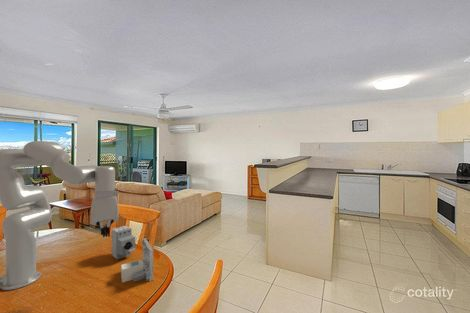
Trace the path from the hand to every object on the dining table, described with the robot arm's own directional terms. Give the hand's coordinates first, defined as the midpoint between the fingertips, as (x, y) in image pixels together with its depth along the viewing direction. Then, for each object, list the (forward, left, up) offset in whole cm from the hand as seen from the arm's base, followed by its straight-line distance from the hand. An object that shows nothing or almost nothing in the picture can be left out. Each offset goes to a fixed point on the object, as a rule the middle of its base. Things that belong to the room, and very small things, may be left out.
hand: (105, 235), depth 90 cm
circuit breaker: (+10, +24, -22) cm, 34 cm away
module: (+11, 0, -22) cm, 25 cm away
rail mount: (+15, 0, -22) cm, 27 cm away
